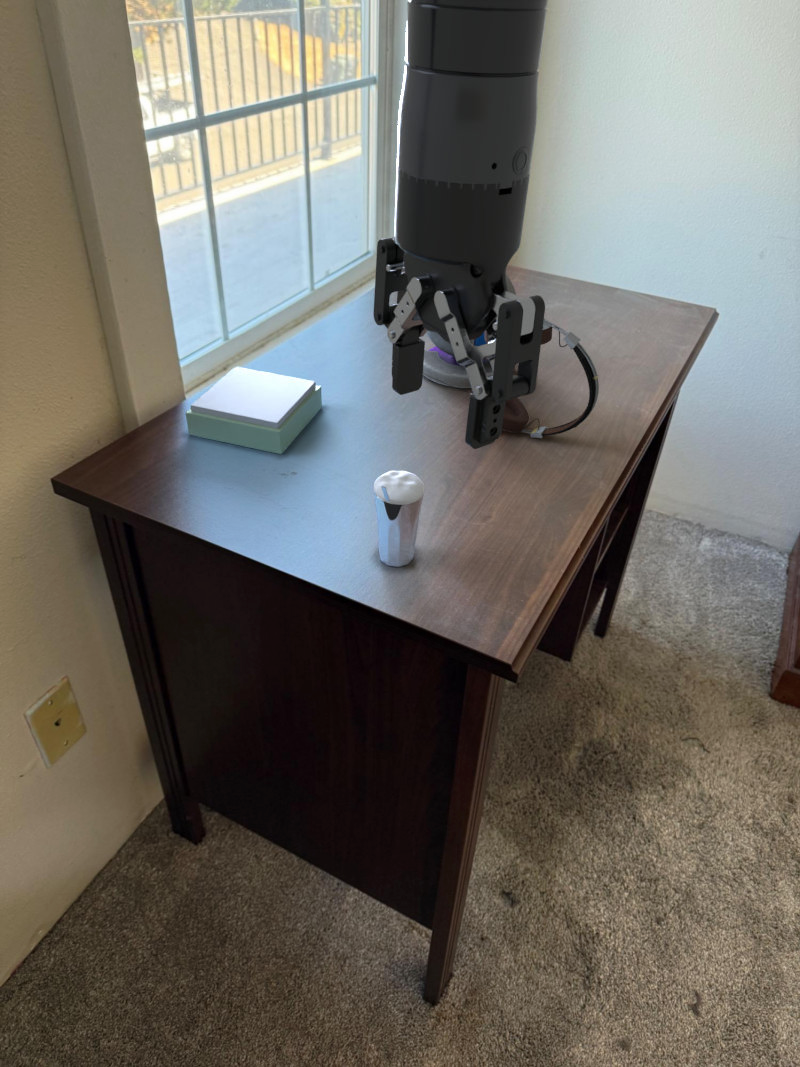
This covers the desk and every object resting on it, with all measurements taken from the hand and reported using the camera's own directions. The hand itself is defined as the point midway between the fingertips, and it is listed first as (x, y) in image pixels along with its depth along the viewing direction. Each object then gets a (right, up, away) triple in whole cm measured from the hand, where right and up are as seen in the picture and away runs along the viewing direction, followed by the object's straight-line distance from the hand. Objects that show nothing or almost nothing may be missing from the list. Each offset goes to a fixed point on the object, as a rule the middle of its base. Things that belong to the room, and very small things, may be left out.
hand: (442, 416), depth 52 cm
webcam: (+6, +15, +53) cm, 56 cm away
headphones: (+9, +5, +41) cm, 42 cm away
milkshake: (-4, -11, +20) cm, 23 cm away
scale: (-20, +6, +40) cm, 45 cm away
